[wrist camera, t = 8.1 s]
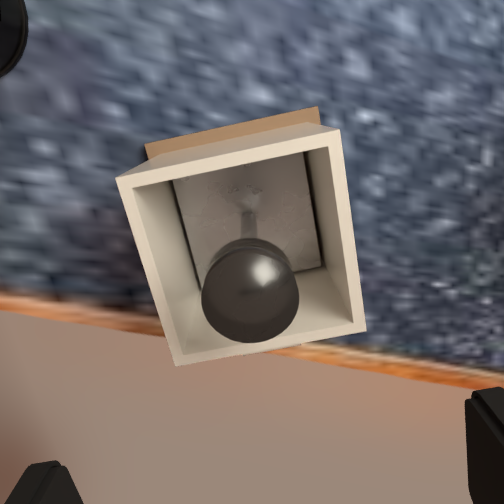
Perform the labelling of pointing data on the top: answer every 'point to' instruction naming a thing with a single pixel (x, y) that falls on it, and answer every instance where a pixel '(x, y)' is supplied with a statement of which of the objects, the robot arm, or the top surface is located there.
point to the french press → (12, 33)
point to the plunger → (250, 243)
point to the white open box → (179, 251)
